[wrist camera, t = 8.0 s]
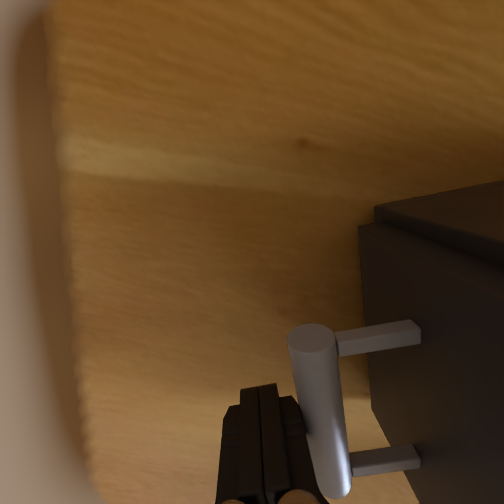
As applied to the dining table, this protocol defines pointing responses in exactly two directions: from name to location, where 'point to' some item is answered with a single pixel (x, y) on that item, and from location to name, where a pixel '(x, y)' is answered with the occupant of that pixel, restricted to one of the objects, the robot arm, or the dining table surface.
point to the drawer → (413, 372)
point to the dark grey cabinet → (455, 219)
